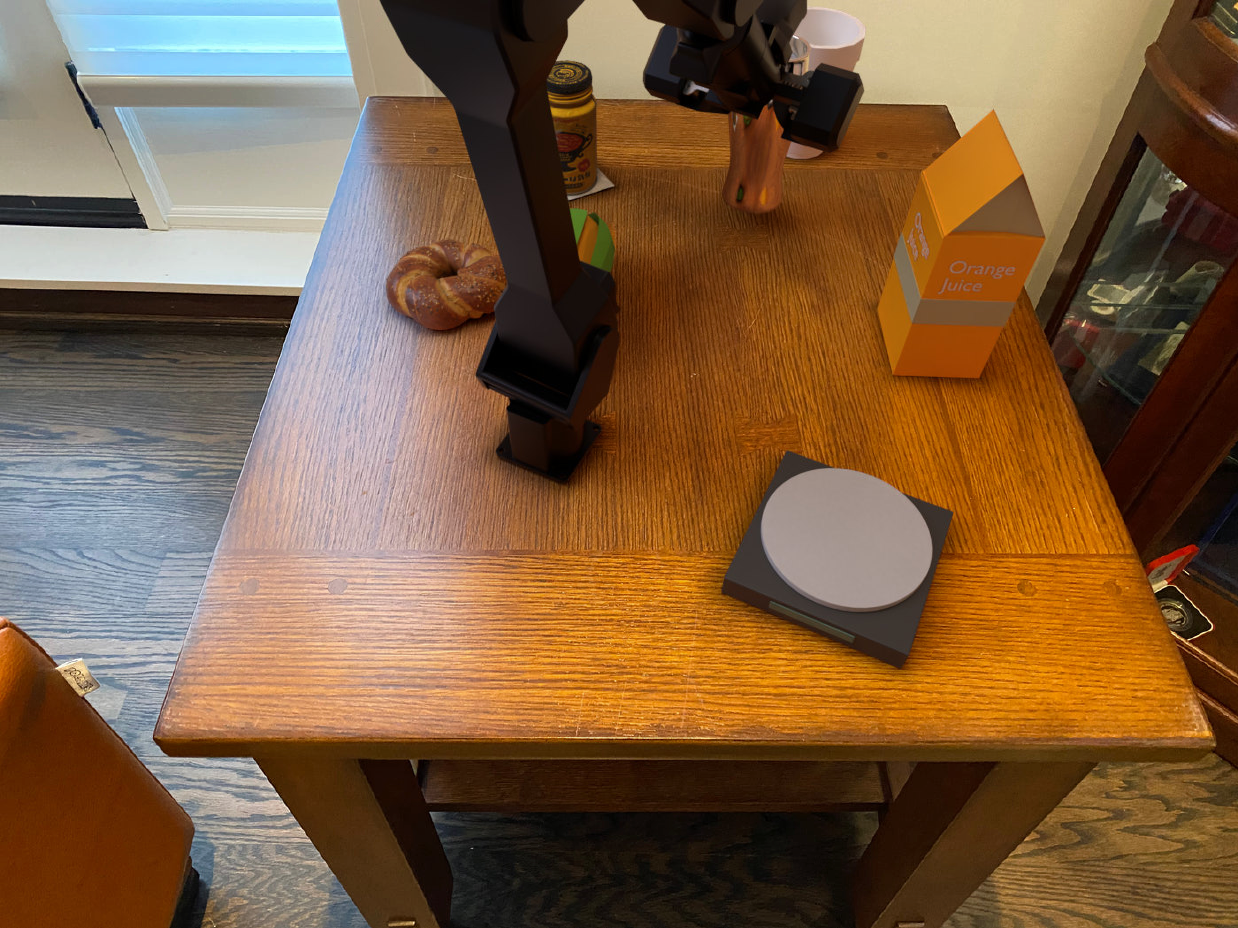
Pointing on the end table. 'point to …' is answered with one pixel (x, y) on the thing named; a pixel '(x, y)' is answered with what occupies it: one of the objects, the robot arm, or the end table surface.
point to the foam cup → (829, 50)
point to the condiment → (576, 127)
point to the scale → (841, 556)
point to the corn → (593, 239)
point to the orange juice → (960, 258)
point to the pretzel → (446, 283)
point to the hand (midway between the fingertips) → (767, 120)
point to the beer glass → (761, 147)
